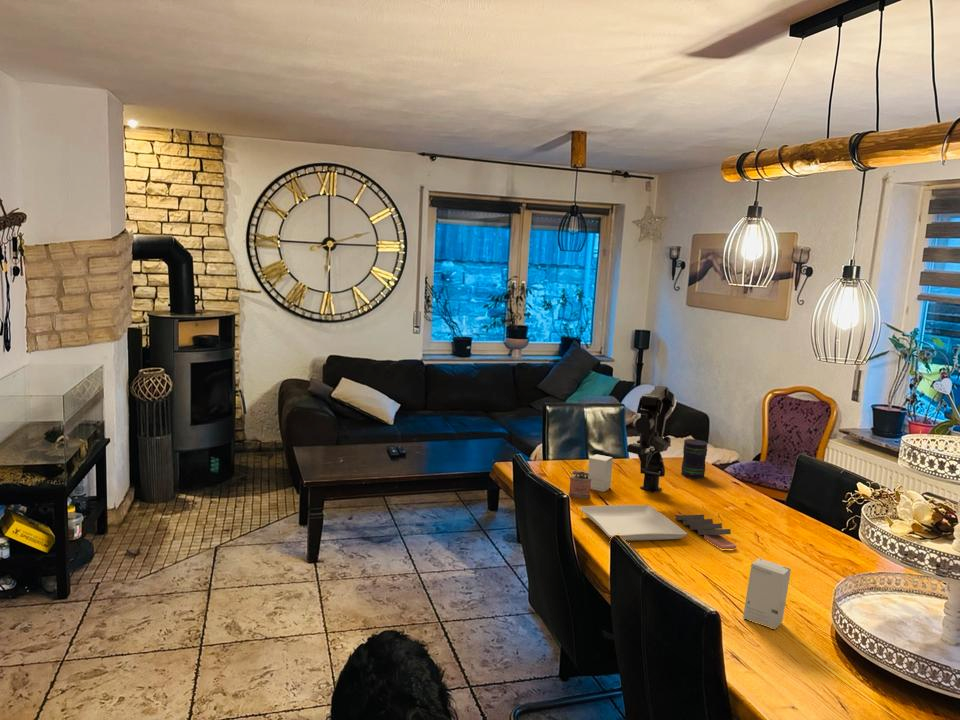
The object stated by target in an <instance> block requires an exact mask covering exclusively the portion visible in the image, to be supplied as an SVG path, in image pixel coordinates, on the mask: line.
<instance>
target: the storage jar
mask: <svg viewBox="0 0 960 720" xmlns="http://www.w3.org/2000/svg"><path fill="white" fill-rule="evenodd" d="M682 449H683V451H682V453H683V458H682V462H681V473H680V474H681V476H683V477H685V478H688V479H693V480H694V479H695V480H701V479H704V478H705V473H706V459H707V455H708V442H707V441H705V440H702V439H694V438H686V439H684V441H683V448H682Z"/></svg>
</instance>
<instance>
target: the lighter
mask: <svg viewBox="0 0 960 720" xmlns="http://www.w3.org/2000/svg"><path fill="white" fill-rule="evenodd" d="M588 475H589V472H588V471H584V470H580V471H579V470H572V475H571V476H569V479H570V480H569V491H568V492H569V493H568V497H569V496H570V497H571V498H574V497H580V498H579V499H590V498H591V489H590V486H591V480H592V478H590V477H588Z"/></svg>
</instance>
